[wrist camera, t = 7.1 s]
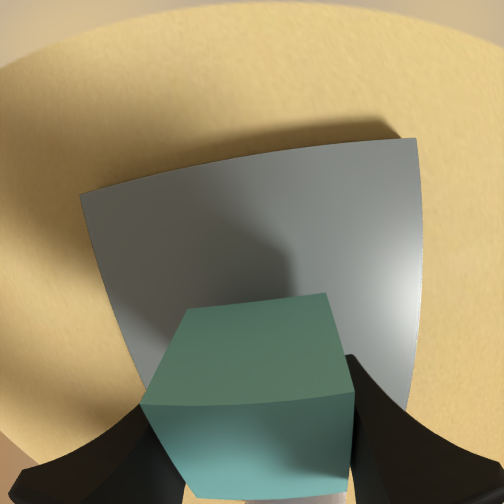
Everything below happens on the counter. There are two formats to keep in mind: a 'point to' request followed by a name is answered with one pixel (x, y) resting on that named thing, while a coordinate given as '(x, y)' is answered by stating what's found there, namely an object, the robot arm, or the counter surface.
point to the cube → (256, 400)
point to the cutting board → (271, 247)
